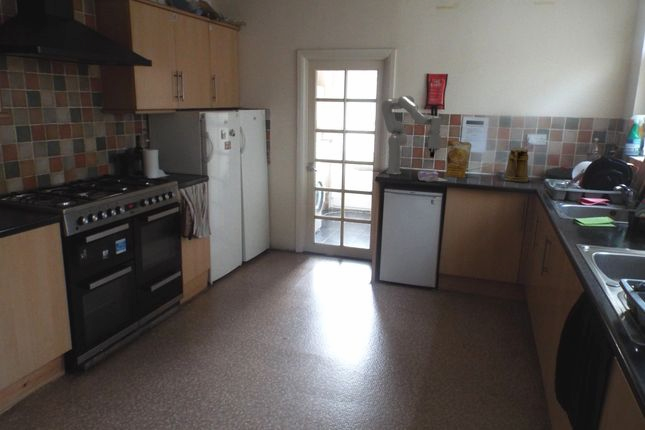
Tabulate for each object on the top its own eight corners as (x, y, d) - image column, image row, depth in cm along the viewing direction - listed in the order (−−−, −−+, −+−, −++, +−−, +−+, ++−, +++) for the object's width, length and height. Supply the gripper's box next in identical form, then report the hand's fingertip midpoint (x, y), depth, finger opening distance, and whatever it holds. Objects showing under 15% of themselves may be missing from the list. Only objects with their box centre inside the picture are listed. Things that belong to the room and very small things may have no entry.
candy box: (436, 170, 372) (438, 173, 357) (435, 177, 374) (438, 181, 358) (418, 169, 374) (420, 172, 358) (417, 177, 375) (419, 180, 359)
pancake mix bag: (445, 174, 393) (448, 140, 386) (468, 177, 382) (472, 142, 375) (442, 175, 387) (445, 140, 381) (465, 178, 376) (469, 142, 370)
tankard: (529, 180, 377) (533, 148, 371) (526, 184, 357) (530, 150, 351) (504, 177, 385) (508, 146, 379) (500, 181, 365) (504, 148, 359)
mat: (418, 178, 371) (418, 178, 371) (438, 177, 376) (439, 177, 376) (426, 181, 358) (426, 181, 358) (448, 181, 363) (448, 180, 363)
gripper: (428, 133, 356) (425, 157, 361) (445, 133, 360) (443, 158, 365) (423, 132, 363) (420, 156, 368) (440, 132, 367) (438, 156, 372)
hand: (431, 157), depth 366 cm, fingers closed
